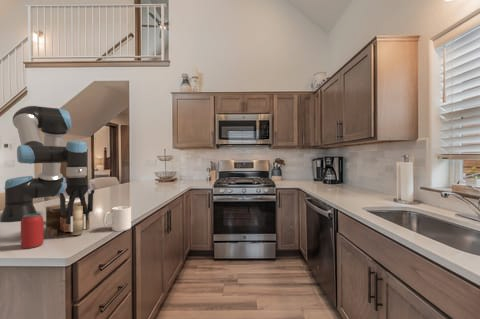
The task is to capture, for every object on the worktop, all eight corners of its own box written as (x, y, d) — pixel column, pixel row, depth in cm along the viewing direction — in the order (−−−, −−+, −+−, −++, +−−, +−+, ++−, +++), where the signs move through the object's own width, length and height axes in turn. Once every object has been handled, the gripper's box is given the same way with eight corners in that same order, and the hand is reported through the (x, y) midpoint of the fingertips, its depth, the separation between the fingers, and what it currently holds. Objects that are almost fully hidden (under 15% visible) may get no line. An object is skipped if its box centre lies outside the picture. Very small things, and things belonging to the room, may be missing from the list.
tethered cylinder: (60, 229, 112) (60, 203, 112) (75, 227, 117) (75, 202, 116) (71, 236, 103) (70, 207, 103) (86, 232, 108) (86, 205, 108)
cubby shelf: (46, 231, 112) (45, 206, 112) (80, 225, 123) (80, 202, 123) (53, 236, 105) (53, 209, 105) (89, 229, 116) (89, 204, 116)
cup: (133, 229, 116) (133, 207, 116) (104, 234, 108) (104, 211, 108) (128, 225, 122) (128, 205, 122) (101, 229, 115) (101, 208, 115)
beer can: (29, 243, 97) (29, 213, 97) (47, 242, 98) (47, 212, 97) (16, 249, 90) (15, 217, 90) (35, 248, 91) (34, 216, 91)
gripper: (55, 178, 97) (56, 236, 98) (101, 175, 111) (101, 226, 111) (50, 177, 102) (50, 233, 102) (94, 175, 116) (95, 224, 116)
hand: (77, 229), depth 107 cm, fingers closed on tethered cylinder, 4 cm apart
